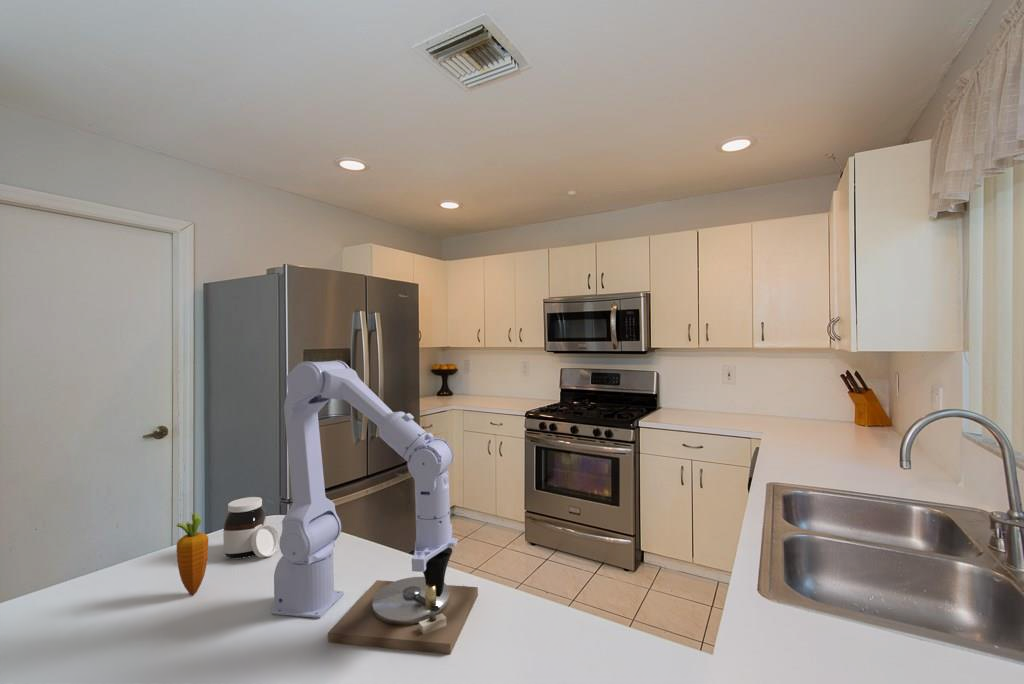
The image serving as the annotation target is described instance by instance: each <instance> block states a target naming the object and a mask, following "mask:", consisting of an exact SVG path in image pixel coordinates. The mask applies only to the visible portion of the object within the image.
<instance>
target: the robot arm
mask: <svg viewBox="0 0 1024 684" xmlns="http://www.w3.org/2000/svg"><path fill="white" fill-rule="evenodd" d="M286 383H287V385H286V386H287V393H286V395H285V396H286V397H285V401H284V404H283V409H284V410H283V411H284V420H285V421H284V423H285V435H286V445H287V446H286V447H287V454H288V457H287V458H288V464H289V465H288V466H289V476H290V477H289V478H290V487H291V488H290V489H291V497H292V505H291V506H290V507H289V510H288V511H287V512H286V514H285V515H284V517H283V518H282V520H281V524H282V525H281V527H282V528H281V529H282V530H281V531H282V532H281V534H280V536H279V549H280V553H281V554H282V556H281V557H280V558H279V560H278V562H277V563H276V566H275V570H274V573H273V592H274V593H273V595H274V596H273V597H274V599H273V602H274V603H273V604H274V606H273V607H274V608H273V609H271V611H270V613H271V614H272V615H282V616H293V617H294V616H295V617H306V618H316V619H318V618H321V617H322V616H323V615H324V614H325V613H326V612H327V611H328V610H329V609H330V608H331V607H332V606H333V605H334V604H335V603H337V602H338V601H339V599H340V598H342V597H343V596H344V595H345V594H344V591H343V590H335V589H334V588H335V587H334V586H335V585H334V579H335V578H334V575H335V574H334V548H335V546H336V544H335V542H336V540H337V539H338V538H340V537H339V536H340V535H341V532H342V521H341V519H340V518H339V515H338V514H337V511H336V505H335V502H334V501H332V500H331V499H329V498H327V497H326V490H325V489H326V487H325V477H324V468H323V467H324V466H323V457H322V446H321V436H320V435H321V433H320V423H319V416H318V415H319V413H320V411H321V410H322V409H323V407H324V406H326V404H327V403H328V402H329V401H330V400H334V399H335V400H343V401H345V402H347V403H348V404H349V405H351V407H353V408H354V409H356V410H357V411H358V412H360V413H361V414H362V415H363V416H364V417H366V418H367V419H368V420H370V421H371V422H373V424H375V425H376V426H377V427H378V434H379V438H380V439H382V440H383V442H385V443H386V445H387V446H389V447H390V448H391V449H393V450H394V451H395V452H396V453H397V454H398V455H399V456H401V457H402V458H403V459H404V461H406V464H407V469H408V472H409V473H410V475H411V477H412V478H413V480H414V498H415V500H414V501H415V502H414V503H415V535H416V539H415V542H414V551H413V552H414V553H413V554H414V555H413V557H412V558H411V572H417V573H418V572H419V573H421V572H422V573H423V577H425V581H426V584H428V583H435V584H436V597H440V596H441V594H442V592H443V588H444V583H445V576H446V571H447V567H448V564H449V561H450V559H451V556H452V555H453V548H454V547H456V546H457V544H458V542H459V541H458V538H456V537H453V523H451V507H450V505H451V504H450V503H451V501H450V479H449V478H450V475H449V468H450V466H451V465H452V463H453V460H454V452H453V449H452V447H451V446H450V444H449V443H448V442H447V440H445V439H443V438H441V437H440V438H439V437H434V434H433V433H431V432H427V431H426V430H425V429H424V428H422V426H420V425H419V424H418V423H417V422H415V420H414V418H415V416H413V414H411V413H410V412H408V413H406V412H404V411H392V409H391V408H389V406H387V404H385V402H384V401H382V399H380V398H379V396H377V394H376V393H374V392H373V390H371V388H369V386H368V385H367V384H366V383H364V382H363V380H361V379H360V377H359V375H358V373H357V371H356V370H354V369H353V368H350V366H349V365H348V364H347V363H346V362H345V361H342V360H340V359H336V360H330V361H302V362H299V363H298V364H297V365H295V366H294V367H293V369H291V371H290V372H289V373H288V374H287V375H286Z"/></svg>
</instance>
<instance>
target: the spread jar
mask: <svg viewBox="0 0 1024 684" xmlns="http://www.w3.org/2000/svg"><path fill="white" fill-rule="evenodd" d="M227 511H228V512H227V515H226V516H225V519H224V521H223V522H224V524H223V535H222V536H223V537H222V538H223V553H224V555H225V556H226V557H227V558H229V559H232V558H242V559H244V558H243V557H247V558H249V557H248V556H251V557H253V556H252V555H254V556H257V557H258V558H261V559H263V558H264V557H265V558H267V557H272V556H273V555H274V554H275V553H276V552H277V551H278V549H279V547H280V545H279V541H280V535H279V531H278V530H277V528H276V527H275V526H273V525H271V524H267V519H266V518H267V516H266V510H265V508H264V507H263V499H262V497H259V496H258V497H257V496H247V497H242V498H241V497H240V498H239V499H235V500H233V501H230V502H228V503H227ZM255 554H256V555H255ZM268 554H269V555H268Z"/></svg>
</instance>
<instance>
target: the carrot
mask: <svg viewBox="0 0 1024 684" xmlns="http://www.w3.org/2000/svg"><path fill="white" fill-rule="evenodd" d="M191 519H192V520H191V521H192V523H191V522H190V521H189V520H188V521H186V522H185V524H184V523H182V522H181V523H180V522H178V523H177V524H176V527H177V528H178V527H179V528H181V529H182V530H183V531H184V532H185V533H186V534H185V535H183V536H182V537H180V538H179V539H178V540H177V542H176V560H177V561H176V562H177V569H178V572H179V573H178V574H179V575H180V580H181V582H182V585H183V586H184V589H186V591H187V592H188V594H189V595H191V596H194V595H196V593H197V592H198V590H199V589H200V586H201V584H202V583H203V579H204V577H205V573H206V569H207V565H208V560H209V559H208V558H209V536H208V535H207V534H206V533H204V532H202V531H199V532H198V529H199V526H200V525H201V524H200V523H201V521H202V518H201V517H199V514H198V513H196V512H194V513H192V514H191Z"/></svg>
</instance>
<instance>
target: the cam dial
mask: <svg viewBox="0 0 1024 684" xmlns="http://www.w3.org/2000/svg"><path fill="white" fill-rule="evenodd" d="M447 585H448V584H446V582H444V588H443V592H442V594H441V596H440V597H436V584H435V583H428V584H426V581H425V576H413V577H412V576H411V577H407V578H402V579H398V580H396V581H395V582H392V583H390V584H388V585H386V586H384V587H383V588H381V589H380V590H379V591H378V592H377V593H376V594H375V596H374V598H373V613H374V615H375V616H376V617H377V618H378V619H379V620H381V621H383V622H386V623H389V624H397V625H406V624H414V623H419V622H420V621H423V620H426V619H428V618H430V616H431V615H435V616H436V615H438V614H440V613H441V612H442V611H443V610H444V609H445V608H446V607H447V605H448V603H449V599H450V596H449V588H448V586H447Z"/></svg>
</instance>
